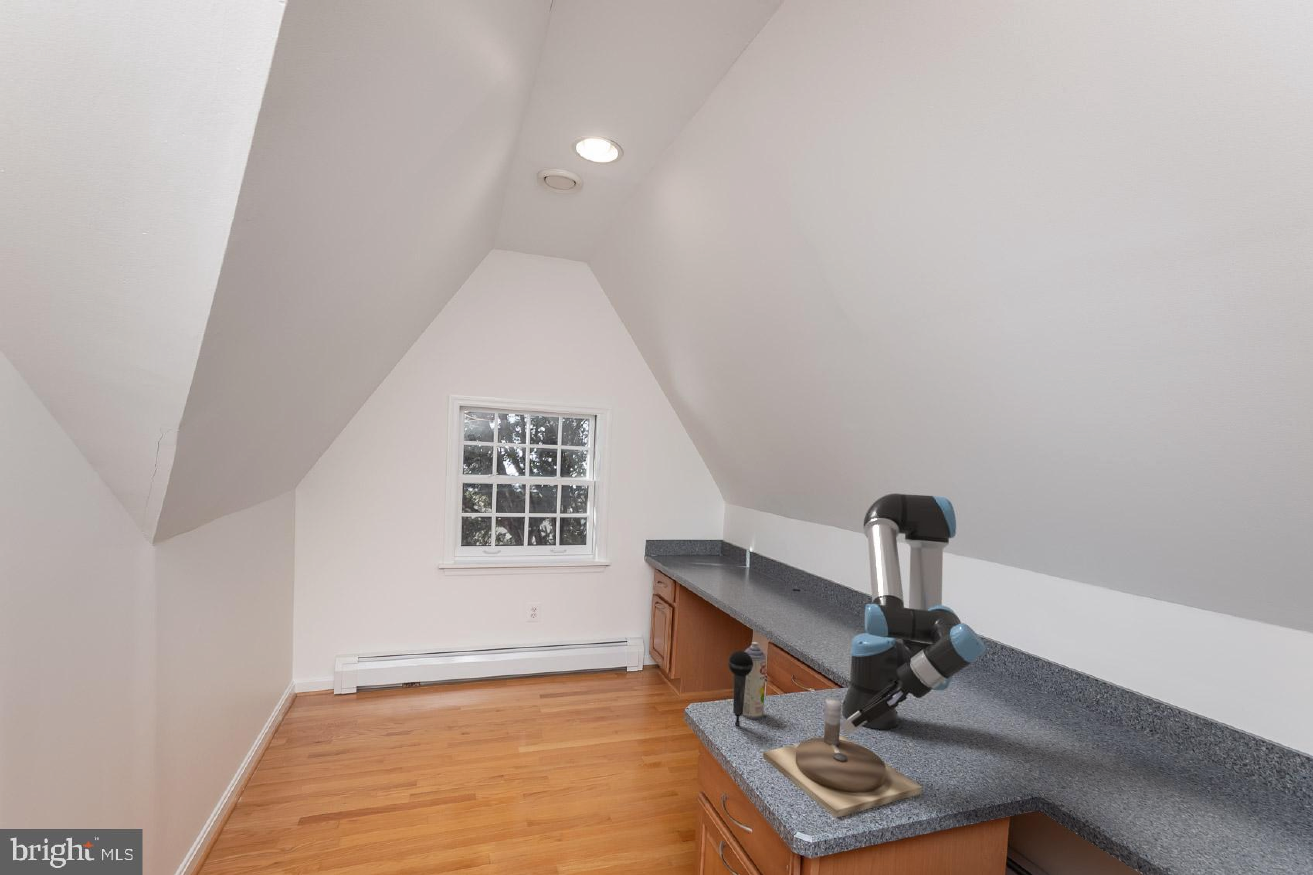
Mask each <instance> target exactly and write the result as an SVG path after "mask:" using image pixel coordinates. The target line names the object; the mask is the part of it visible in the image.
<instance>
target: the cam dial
mask: <svg viewBox="0 0 1313 875" xmlns="http://www.w3.org/2000/svg"><path fill="white" fill-rule="evenodd" d="M824 710H825V712H824V713H825V714H824V730H823V732H824V733H823V737H814V738H808V739H806V740H803V741H801V742H800V743H799V745H798V744H797V745H798V746H797V748H796V764H797V766H798V768H799V769H800V770H801V771H802V772H803V773H804V774H805V775H806V776H808V777H809V778H810V779H812V780H814V781H816V782H818V783H820V784H822V785H825V786H827V787H831V788H834V789H838V790H843V791H850V792H866V791H872V790H875V789H877V788H879V787H881V786H882V785H883V784H884V782H885V775H886V767H885V764H884V763H885V762H884V761H883V760H882V758H881V757H880V756H879V755H877V754H876V753H875V752H873V751H872V750H870V749H868V748H867V747H865V746H862V745H860V744H857V743H855V742H853V741H851V742H849V741H845V740H841V739H839V736H841V735H840V732H841V727H840V724H841V715H842V714H841V713H842V701H841V700H839V699H838V698H835V697H827V698H826V699H825V709H824ZM852 742H853V743H852Z"/></svg>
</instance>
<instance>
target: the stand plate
mask: <svg viewBox="0 0 1313 875" xmlns="http://www.w3.org/2000/svg"><path fill="white" fill-rule="evenodd" d="M839 739H841V740H845V741H849V742H852V743H854V742H853V741H851V740H850V739H848V738H846V737H845V736H843V735H839ZM799 744H800V743H799ZM799 744H795V745H788V746H784V747H779V748H775V749H771V750H770V749H769V750H765V751H763V754H762V758H763V759H764V760H765V761H766V762H767V763H769V764H770V765H771V766H772V767H774V768H775V769H776V770H777V771H778V772H780V773H781V774H782V775H783V776H784V777H786V778H787V779H788V780H789V781H790V782H792V783H793V784H794V785H795V786H796V787H798V788H799V789H801V791H802V792H804V793H805V794H806V795H807V796H809V797H810V798H811V799H813V800H814V802H816V803H817V804H818V805H820V806H821V807H822V808H823V809H824V810H826V811H827V812H828V813H829V814H830V815H831V816H833V817H834V818H835V819H837V818H841V817H844V816H847V815H851V814H854V813H858V812H862V811H866V810H869V809H871V808H876V807H879V806H882V805H886V804H890V803H893V802H897V801H901V800H904V799H907V798H911V797H915V796H918V795H921V794H923V786H922V785H920V784H918V783H917V782H916V781H914V780H912V779H910V777H907V775H905V774H903V773H901V772H899V771H898V770H897V769H895V768H893V767H892V766H890V765H889V764H887V763H886V762H884V764H885V767H886V775H885V782H884V784H883V785H882V786H881V787H879V788H877V789H875V790H872V791H866V792H850V791H843V790H838V789H834V788H831V787H827V786H825V785H822V784H820V783H818V782H816V781H814V780H812V779H810V778H809V777H808V776H806V775H805V774H804V773H803V772H802V771H801V770H800V769H799V768H798V766H797V764H796V748H797V746H798V745H799Z"/></svg>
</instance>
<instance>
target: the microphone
mask: <svg viewBox="0 0 1313 875" xmlns="http://www.w3.org/2000/svg"><path fill="white" fill-rule="evenodd" d="M744 651H745V650H736V651H734V652H733V653H732V654H731V655H730V656H729V659H728V661H727V663H728V664H727V665H728V668H729V670H730V671H731V673H732V674H733V705H732V707H733V710H732V711H733V712H732V713H733V714H734V716H735V717H736V718H735V719H736V720H735V721H734V725H735V726H737V727H739V726H740V725H741V722H740V717H742V716H741V715H742V714H743V706H744V694H745V682H746V675H748V674H749V673H750V672H751V670H752V667H753V661H752V658H751V657H750V655H749V654H748V653H746V652H744Z"/></svg>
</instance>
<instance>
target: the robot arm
mask: <svg viewBox="0 0 1313 875" xmlns="http://www.w3.org/2000/svg"><path fill="white" fill-rule="evenodd" d="M956 532H957V518H956V514H955V509H954V507H953V504H952V502H951V500H949V499H948V498H946V497H943V496H942V497H941V496H938V495H937V496H936V495H921V494H905V493H904V494H903V493H888V494H885V495H883V496H882V497H880V498H878V499H877V500H875V501H874V502H873V503H872V504H871V505H870V507H869V508H868V510H867V511H866V513H865V515H864V519H863V534H864V536H865V537H866V538H867V540H868V541H867V542H868V554H869V571H870V573H869V574H870V575H869V576H870V584H871V585H870V586H871V601H872V602H871V603H867V604H866V605H865V609H864V630H865V633H859V634H857V635H855V636H854V637H853V639H852V641H851V642H852V643H851V650H850V655H851V657H850V672H849V674H850V675H849V686H848V689H847V692H846V695H845V697H844V700H843V701H842V703H841V713H842V714H841V715H843V717H844V718H846V719H845V720H844V721H842V722H840V729H841V730H843V732H844V734H846V736H847V737H848V736H849V735H851V734H852V733H853V732H855V731H857V730H858V729H859V728H861V727H862V726H863V727H864V728H865V727H866V728H870V729H878V730H879V729H880V730H886V729H893V728H895V727H896V726H898V723H899V722H898V721H899V720H898V719H899V713H898V710H897V709H896V708H898V706H899V703H903V702H904V701H906V700H907V699H908V698H907V696H908V694H911V695H912V696H913V697H915V698H917V699H921V698H923V697H924V696H925V695H927V694H929V693H930V692H931V691H941V692H943V691H945V690H947V688H949V686H950V685H951V684H952V683H951V682H952V680H953V676H954V675H956V674H958V673H959V672H960V671H962V670H963V669H965V668H966V667H967V666H969V665H970V664H972V663H975V662H976V661H977V659H978V658H979V657H980V656H982V655H983V654H985V652H986V650H987V648H986V645H985V643H984V642H983V640H982V639H981V637H980V636H979V635H978V634H977V632H976V631H975V630H974V629H972V628H971V627H970V626H969V625H968V624H966V623H965V622H964V623H963V622H961V619H960V617H958V615H957V614H956V613H955V611H954V610H953V609H951V608H950V607H948V606H945V605H943V601H942V600H943V560H944V559H943V554H944V553H943V552H944V549H946V547H947V546H948V545H950V543H949V542H950V539H953V538H955V536H956V534H957V533H956ZM899 534H900V535H901V534H902V535H904V540H905V542H906V543H907V545H909V548H910V553H909V556H910V557H909V558H910V559H909V588H908V590H909V591H908V592H909V594H908V598H909V599H908V607H905V600H904V593H903V584H902V577H901V576H902V575H901V574H902V573H901V567H900V559H899V551H898V541H897V537H898V536H899ZM896 639H899V640H901V641H896Z"/></svg>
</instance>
